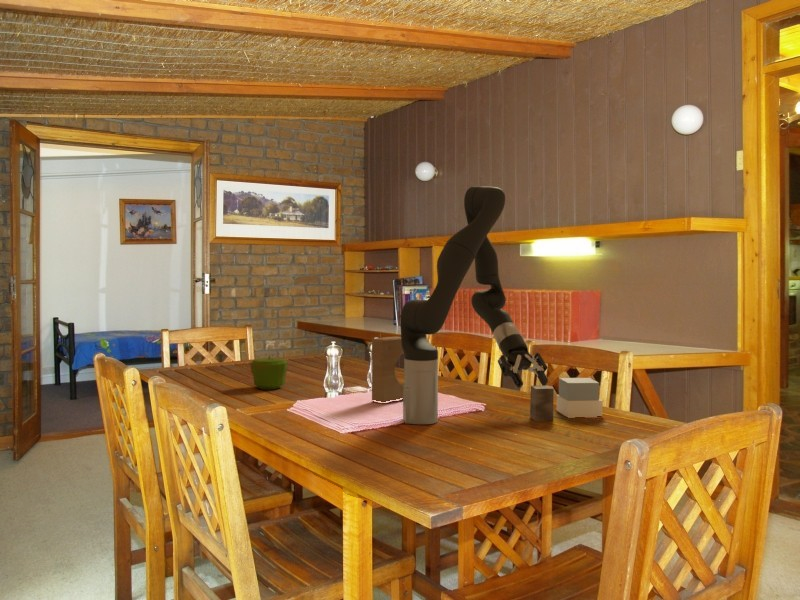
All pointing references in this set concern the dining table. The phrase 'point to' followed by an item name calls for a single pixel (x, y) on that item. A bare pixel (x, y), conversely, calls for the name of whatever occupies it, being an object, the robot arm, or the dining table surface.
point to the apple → (269, 372)
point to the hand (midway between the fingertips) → (533, 385)
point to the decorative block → (386, 369)
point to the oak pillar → (541, 403)
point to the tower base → (579, 408)
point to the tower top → (578, 389)
